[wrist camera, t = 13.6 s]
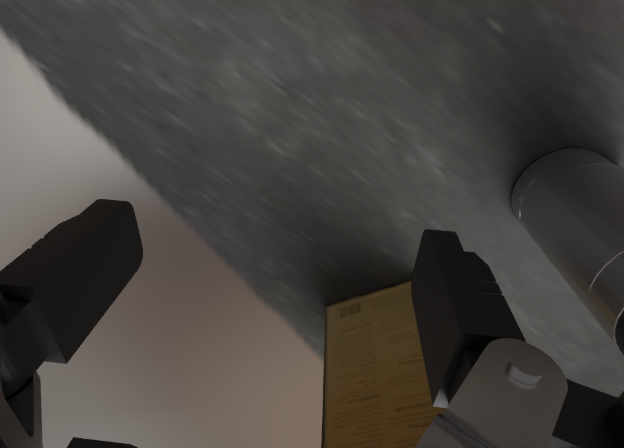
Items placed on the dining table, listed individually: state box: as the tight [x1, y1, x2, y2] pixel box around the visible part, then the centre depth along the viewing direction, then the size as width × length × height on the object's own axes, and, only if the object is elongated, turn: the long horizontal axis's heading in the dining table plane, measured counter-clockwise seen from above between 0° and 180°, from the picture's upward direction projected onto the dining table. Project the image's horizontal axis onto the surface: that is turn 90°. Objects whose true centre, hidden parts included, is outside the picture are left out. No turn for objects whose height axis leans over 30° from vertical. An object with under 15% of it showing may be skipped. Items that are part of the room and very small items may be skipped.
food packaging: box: [321, 280, 446, 448], centre depth 38 cm, size 13×9×25 cm
